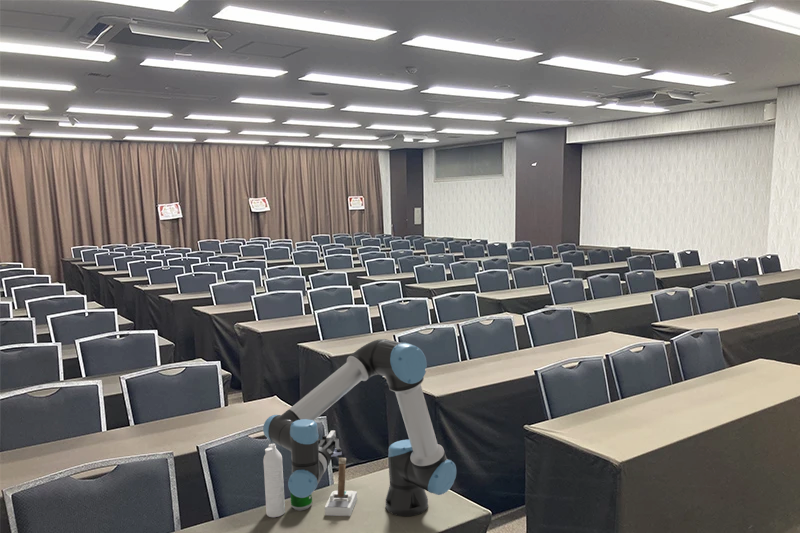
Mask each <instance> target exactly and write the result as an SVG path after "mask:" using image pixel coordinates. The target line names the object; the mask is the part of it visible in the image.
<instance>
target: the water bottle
mask: <svg viewBox="0 0 800 533" xmlns="http://www.w3.org/2000/svg"><path fill="white" fill-rule="evenodd" d="M264 452H265V454H264V456H263V461H262V462H263V472H264V473H263V474H264V476H263V477H264V491H265V492H264V493H265V494H264V495H265V496H264V497H265V510H266V512H265V513H266V516H267V517H269V518H276V517H282V516H283V515H284V514H285V513H286V504H285V502H286V500H285V487H284V486H285V483H284V472H283V471H284V468H283V456H282V453H281V452H280V451H279V450H278V449H277V444H276V443H273V442H272V443H269V444H268V447H266V448H265V449H264Z"/></svg>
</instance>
